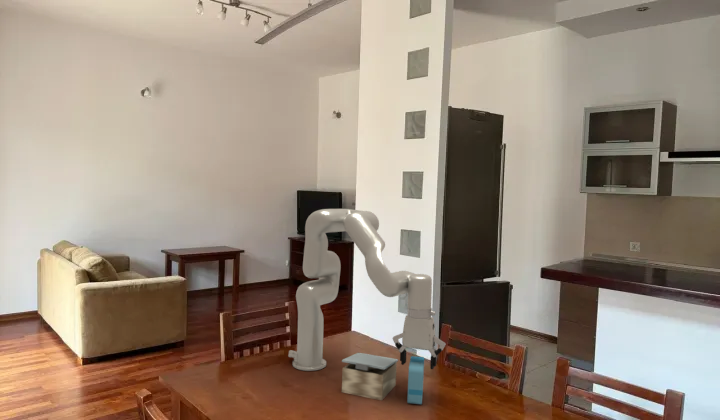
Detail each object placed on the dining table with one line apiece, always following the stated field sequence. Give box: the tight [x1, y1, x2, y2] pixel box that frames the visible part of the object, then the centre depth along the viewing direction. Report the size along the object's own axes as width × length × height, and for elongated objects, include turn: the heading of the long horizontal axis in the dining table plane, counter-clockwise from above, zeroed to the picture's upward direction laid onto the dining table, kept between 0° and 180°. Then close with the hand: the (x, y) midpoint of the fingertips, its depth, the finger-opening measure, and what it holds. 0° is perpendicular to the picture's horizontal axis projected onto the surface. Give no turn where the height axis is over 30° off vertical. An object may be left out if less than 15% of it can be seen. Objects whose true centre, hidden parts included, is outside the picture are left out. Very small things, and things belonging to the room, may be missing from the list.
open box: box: [341, 361, 398, 401], centre depth 170 cm, size 14×14×8 cm
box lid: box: [341, 352, 399, 370], centre depth 170 cm, size 15×15×2 cm
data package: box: [407, 355, 425, 405], centre depth 164 cm, size 12×4×12 cm, turn 171°
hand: (418, 365), depth 163 cm, fingers open, 9 cm apart
